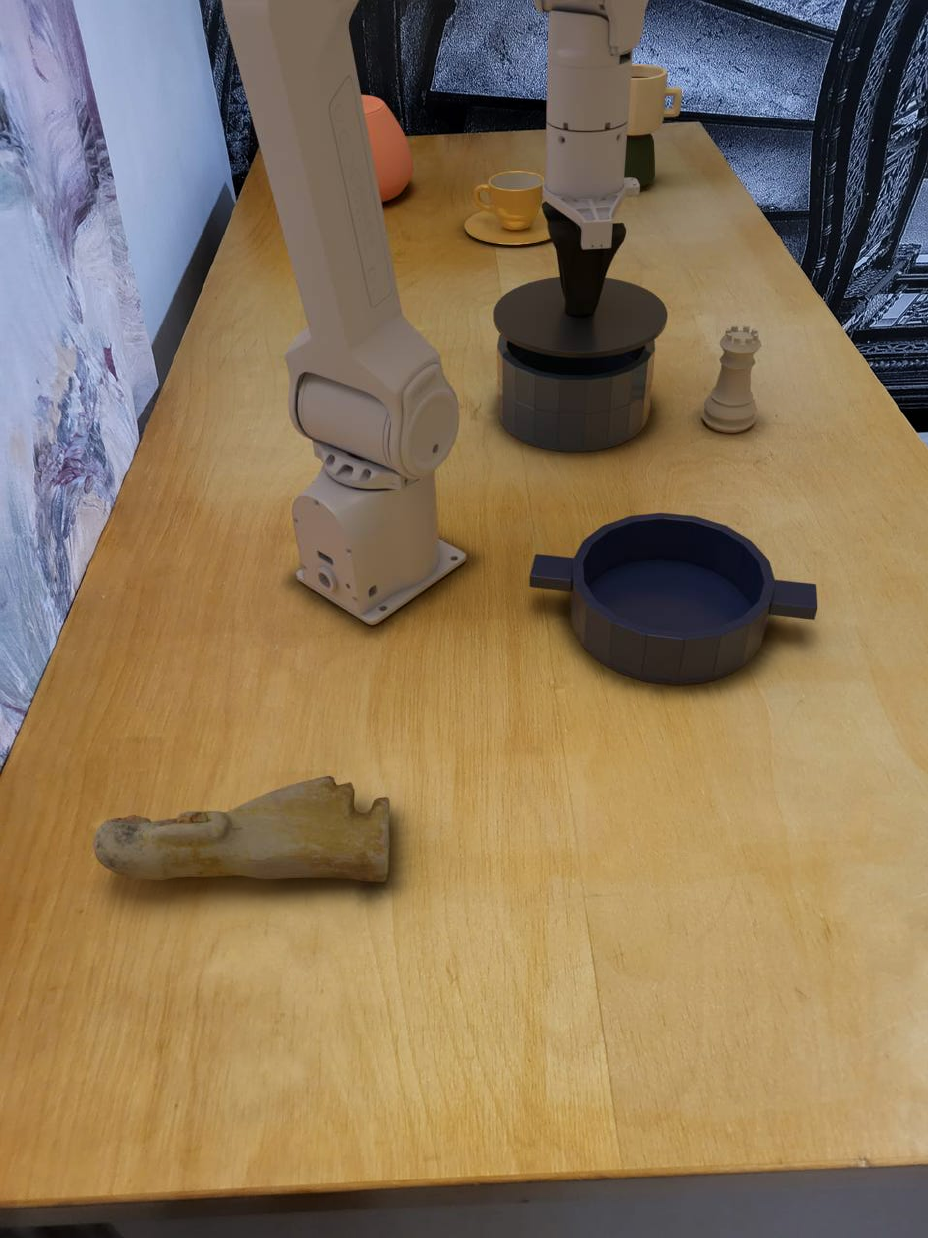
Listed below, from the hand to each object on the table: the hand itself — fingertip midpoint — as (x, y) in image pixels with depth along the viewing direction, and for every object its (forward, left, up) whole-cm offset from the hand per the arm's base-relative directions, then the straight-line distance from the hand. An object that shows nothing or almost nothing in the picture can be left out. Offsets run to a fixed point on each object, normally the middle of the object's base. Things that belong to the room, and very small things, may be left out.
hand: (579, 304), depth 80 cm
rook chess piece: (+7, -11, -10) cm, 16 cm away
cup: (+29, +31, -10) cm, 44 cm away
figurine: (-47, -15, -10) cm, 50 cm away
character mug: (+49, +29, -10) cm, 58 cm away
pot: (0, 0, -10) cm, 10 cm away
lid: (0, 0, -1) cm, 1 cm away
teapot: (+26, +56, -10) cm, 63 cm away
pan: (-17, -21, -10) cm, 28 cm away
